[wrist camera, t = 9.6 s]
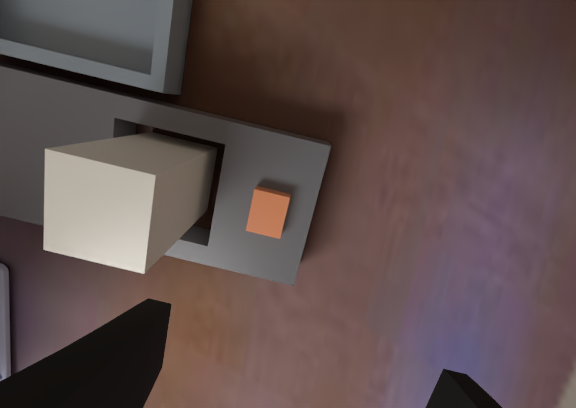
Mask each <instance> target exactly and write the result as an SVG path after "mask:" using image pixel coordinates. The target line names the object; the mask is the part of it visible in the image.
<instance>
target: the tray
mask: <svg viewBox="0 0 576 408" xmlns="http://www.w3.org/2000/svg"><path fill="white" fill-rule="evenodd" d="M192 2H193V0H0V54H3V55H7V56H11V57H15V58H20V59H24V60H28V61H32V62H36V63H40V64H44V65H48V66H53V67H57V68H61V69H65V70H69V71H73V72H77V73H81V74H86V75H90V76H94V77H98V78H102V79H106V80H110V81H115V82H119V83H123V84H127V85H131V86H135V87H139V88H143V89H148V90H152V91H156V92H160V93H166V94H176V95H181V88H182V80H183V72H184V64H185V56H186V49H187V41H188V33H189V25H190V18H191V10H192Z"/></svg>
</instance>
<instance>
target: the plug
mask: <svg viewBox="0 0 576 408" xmlns="http://www.w3.org/2000/svg"><path fill="white" fill-rule="evenodd" d="M217 149H218V148H216V147H212V146H208V145H204V144H200V143H195V142H191V141H187V140H183V139H179V138H175V137H171V136H166V135H162V134H158V133H154V132H149V133H142V134H136V135H129V136H123V137H117V138H110V139H104V140H97V141H91V142H84V143H78V144H72V145H65V146H59V147H52V148H46V149H45V178H44V249H43V250H46V251H50V252H54V253H58V254H63V255H67V256H71V257H75V258H79V259H84V260H88V261H92V262H96V263H100V264H105V265H109V266H113V267H117V268H121V269H126V270H130V271H134V272H138V273H142V274H145V273H146V272H147V271H148V270H149V269H150V268H151V267H152V266H153V265H154V264H155V263H156V262H157V261H158V260H159V259H160V258H161V257H162V256H163V255H164V254H165V253H166V252H167V251H168V250H169V249H170V248H171V247H172V245H173V244H174V243H175V242H176V241H177V240H178V239H179V238H180V237H181V236H182V235H183V234H184V233H185V232H186V231H187V230H188V229H189V228H190V227H191V226H192V225H193V224H194V223H195V222H196V221H197V220H198V219H199V218H200V217H201V216H202V215H203V214H204V213H205V212H206V211H207V209H208V203H209V197H210V191H211V185H212V179H213V173H214V167H215V161H216V155H217Z"/></svg>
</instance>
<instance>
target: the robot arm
mask: <svg viewBox="0 0 576 408" xmlns="http://www.w3.org/2000/svg"><path fill="white" fill-rule="evenodd" d="M170 310H171V304H169V303H165V302H161V301H157V300H153V299H147V300H145V301H143V302H141V303H140V304H138V305H136V306H134V307H133V308H131V309H129V310H128V311H126V312H124V313H123V314H121V315H120V316H118V317H116V318H115V319H113V320H111V321H110V322H108V323H106V324H104V325H103V326H101V327H99V328H98V329H96V330H94V331H93V332H91V333H89V334H87V335H86V336H84V337H82V338H80V339H79V340H77V341H75V342H73V343H72V344H70V345H68V346H66V347H65V348H63V349H61V350H59V351H57V352H55V353H53V354H52V355H50V356H48V357H46V358H44V359H42V360H40V361H38V362H36V363H35V364H33V365H31V366H29V367H27V368H25V369H23V370H21V371H19V372H17V373H16V374H13V375H11V359H10V311H9V272H8V269H7V267H6V266H5V265H3V264H1V263H0V408H143V406H144V404H145V402H146V400H147V398H148V396H149V394H150V392H151V390H152V388H153V386H154V383H155V381H156V379H157V377H158V375H159V373H160V371H161V368H162V364H163V358H164V351H165V344H166V337H167V330H168V323H169V317H170ZM426 408H502V407H501V406H500V405H499V404H498V403H497V402H496V401H495V400H494V399H493V398H492V397H491V396H490V395H489V394H488V393H487V392H486V391H484V390H483V389H482V388H481V387H480V386H479V385H478V384H477V383H476V382H475V381H474V380H472V379H471V378H470V377H469V376H468V375H467V374H463V373H459V372H454V371H450V370H446V369H443V371H442V373H441V375H440V378H439V380H438V382H437V384H436V386H435V388H434V391H433V393H432V395H431V397H430V399H429V402H428V404H427V406H426Z"/></svg>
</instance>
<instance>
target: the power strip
mask: <svg viewBox="0 0 576 408" xmlns="http://www.w3.org/2000/svg"><path fill="white" fill-rule="evenodd" d="M137 123H139V124H143V125H147V126H151V127H155V128H159V129H164V130H168V131H172V132H176V133H180V134H184V135H188V136H193V137H197V138H201V139H205V140H209V141H213V142H217V143H222V144H226V145H225V151H224V156H223V162H222V168H221V173H220V179H219V185H218V191H217V196H216V202H215V208H214V214H213V219H212V225H211V229H207V228H203V227H198V226H194V225H192V226H191V227H190V228H189V229H188V230H187V231H186V232H185V233H184V234H183V235H182V236H181V237H180V238H179V239H178V240H177V241H176V242H175V243H174V244H173V245H172V247H171V248H170V249H169V250H168V251H167V252H166V253H165V254H164V255H167V256H171V257H175V258H179V259H184V260H188V261H192V262H196V263H200V264H205V265H209V266H213V267H217V268H221V269H225V270H230V271H234V272H238V273H242V274H246V275H251V276H255V277H259V278H263V279H267V280H271V281H276V282H280V283H284V284H288V285H292V286H294V283H295V279H296V275H297V272H298V268H299V264H300V261H301V257H302V253H303V249H304V246H305V242H306V238H307V234H308V231H309V227H310V223H311V220H312V216H313V212H314V208H315V205H316V201H317V197H318V193H319V190H320V186H321V182H322V179H323V175H324V171H325V167H326V164H327V160H328V156H329V152H330V149H331V145H330V143H329V142H328V141H324V140H320V139H316V138H312V137H308V136H303V135H299V134H295V133H291V132H287V131H283V130H279V129H274V128H270V127H266V126H262V125H258V124H254V123H250V122H246V121H241V120H237V119H233V118H229V117H225V116H221V115H217V114H212V113H208V112H204V111H200V110H196V109H192V108H188V107H184V106H179V105H175V104H171V103H167V102H163V101H159V100H155V99H150V98H146V97H142V96H138V95H134V94H130V93H126V92H122V91H117V90H113V89H109V88H105V87H101V86H97V85H93V84H88V83H84V82H80V81H76V80H72V79H68V78H64V77H60V76H55V75H51V74H47V73H43V72H39V71H35V70H31V69H26V68H22V67H18V66H14V65H10V64H6V63H2V62H0V216H4V217H8V218H12V219H17V220H21V221H25V222H29V223H33V224H37V225H42V226H44V178H45V149H46V148H52V147H59V146H65V145H72V144H78V143H84V142H91V141H97V140H104V139H110V138H117V137H123V136H129V135H136V125H137Z"/></svg>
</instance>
